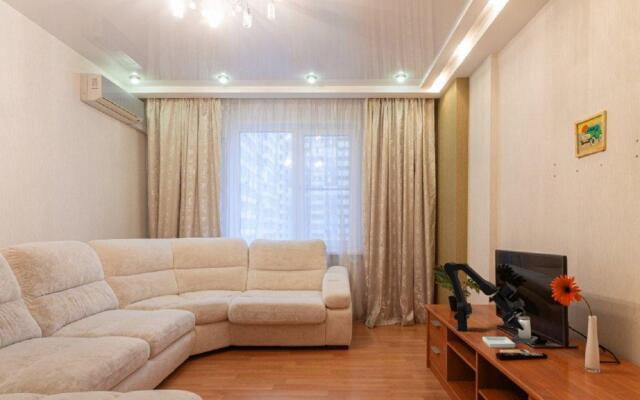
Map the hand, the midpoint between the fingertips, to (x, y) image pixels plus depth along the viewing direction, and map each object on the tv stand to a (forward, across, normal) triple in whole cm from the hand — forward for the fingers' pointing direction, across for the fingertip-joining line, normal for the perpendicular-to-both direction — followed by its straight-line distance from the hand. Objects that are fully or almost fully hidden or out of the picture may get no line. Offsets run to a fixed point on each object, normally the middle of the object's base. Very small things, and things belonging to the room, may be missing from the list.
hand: (526, 327), depth 200 cm
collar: (+4, 0, +6) cm, 7 cm away
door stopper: (-7, +26, +17) cm, 32 cm away
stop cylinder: (+4, 0, +6) cm, 7 cm away
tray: (-2, -14, +12) cm, 18 cm away
